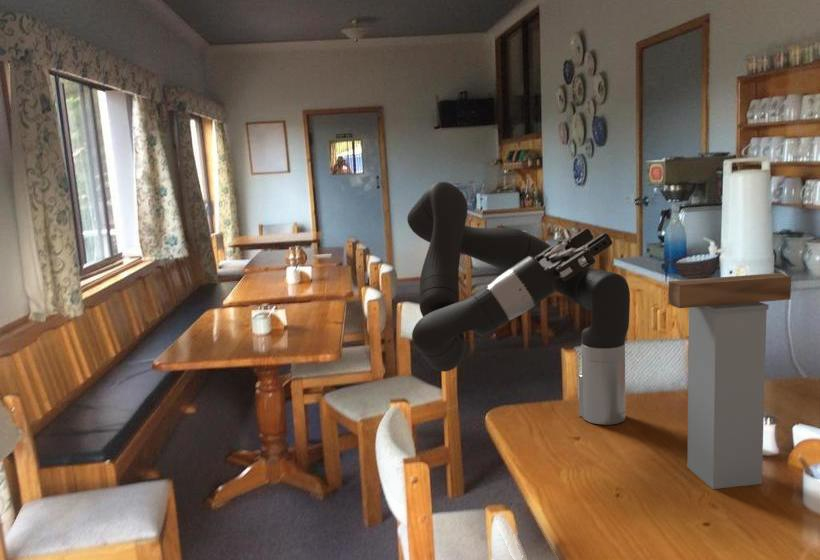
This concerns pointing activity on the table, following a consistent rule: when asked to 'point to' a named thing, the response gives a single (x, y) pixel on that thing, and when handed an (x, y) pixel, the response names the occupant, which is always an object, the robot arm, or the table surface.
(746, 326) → the stand
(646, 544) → the table surface
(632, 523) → the table surface
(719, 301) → the walnut bar
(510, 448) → the table surface
